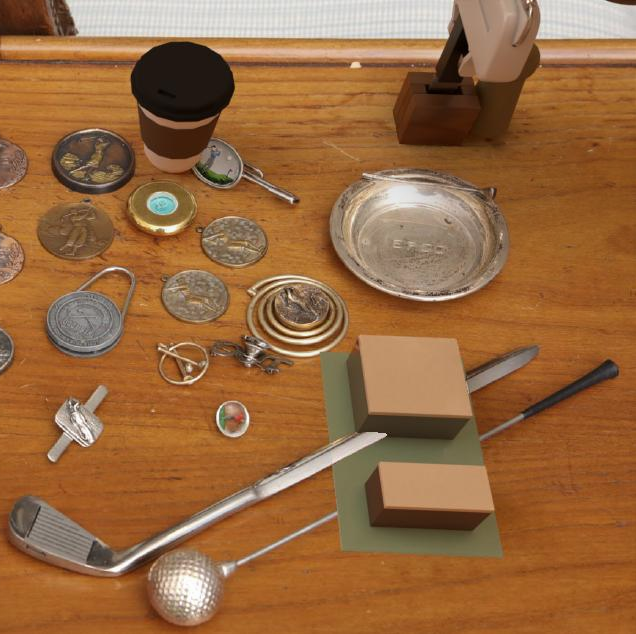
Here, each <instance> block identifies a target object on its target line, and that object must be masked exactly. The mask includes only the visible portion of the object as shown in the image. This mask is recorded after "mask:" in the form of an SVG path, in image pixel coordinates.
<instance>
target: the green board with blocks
mask: <svg viewBox="0 0 636 634" xmlns="http://www.w3.org/2000/svg"><path fill="white" fill-rule="evenodd" d="M319 359H320V368H321V378H322V387H323V388H322V389H323V396H324V406H325V414H326V423H327V424H326V425H327V431H328V441H329V444H330V443H333V442H334V441H336V440H338V439H340V438H343V437H345V436H347V435H350V434H351V433H354V432H357V433H362V432H378V433H386V434H387V436H386V437H385V438H383V439H381V440H380V441H378V442H376V443H374V444H371V445H369V446H367V447H366V448H364V449H362V450H360V451H358V452H356V453H354V454H352V455H350V456H348V457H346V458H344V459H343V460H341V461H339V462H337V463H336V464H333V465H332V464H331V467H332V468H331V469H332V476H333V477H332V479H333V487H334V496H335V505H336V511H337V512H336V513H337V514H336V515H337V523H338V531H339V540H340V548H341V552H349V553H350V552H351V553H352V552H353V553H375V554H395V555H396V554H397V555H398V554H399V555H423V556H447V557H464V558H465V557H467V558H468V557H469V558H493V559H504V558H505V555H504V551H503V546H502V541H501V536H500V532H499V531H500V530H499V527H498V521H497V516H496V512H495V511H494V512H493V513H491V514H490V515H489V516H488V517H487V518H486V519H485V520H484V521H483V522H482V523H481V524H480V525H478V526H477V527H476V528H475V529H474V530H473V531H467V530H443V529H419V528H395V527H371V526H370V522H369V514H368V506H367V499H366V491H365V483H366V481H367V480H368V479H369V477H370V476H371V474H372V473H373V471H374V470H375V469H376V467H377V466H378V464H379V462H399V463H424V464H448V465H473V466H486V464H485V458H484V454H483V450H482V449H483V448H482V444H481V440H480V435H479V430H478V426H477V421H476V415H475V411H474V406H473V401H472V396H471V392H470V393H469V394H468V390H467V386H466V381H465V377H466V376H467V372H466V367H465V362H464V358H463V356H461V352H460V347H459V343H458V339H457V338H455V337H431V336H429V337H428V336H408V335H407V336H405V335H384V334H383V335H378V334H359V335H358V337H357V339H356V341H355V343H354V345H353V347H352V349H351V350H350V352H343V351H342V352H339V351H319Z"/></svg>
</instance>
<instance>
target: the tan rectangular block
mask: <svg viewBox="0 0 636 634" xmlns="http://www.w3.org/2000/svg"><path fill="white" fill-rule="evenodd" d="M365 491H366V499H367V506H368V514H369V522H370V526H371V527H395V528H419V529H443V530H467V531H473V530H474V529H475V528H476V527H477V526H478V525H480V524H481V523H482V522H483V521H484V520H485V519H486V518H487V517H488V516H489V515H490V514H491V513H493V512H494V511H495V510H496V509H495V504H494V499H493V494H492V490H491V485H490V481H489V476H488V471H487V466H486V465H485V466H473V465H448V464H424V463H399V462H379V464H378V466H377V467H376V469H375V470H374V471H373V473H372V474H371V476H370V477H369V479H368V480H367V481H366V483H365Z"/></svg>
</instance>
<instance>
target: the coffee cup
mask: <svg viewBox="0 0 636 634" xmlns="http://www.w3.org/2000/svg"><path fill="white" fill-rule="evenodd" d="M129 80H130V90H131V94H132V96H133V98H134V99H135V100H136V106H137V114H138V122H139V129H140V137H141V138H140V139H141V141H142V142H143V149H144V154H145V156H146V158H147V159H148V160H149V162H150V163H151V165H152V166H153V167H155V168H157V169H158V170H159V171H162V172H166V173H169V174H175V173H177V174H181V173H183V172H184V173H185V172H186V171H187V172H188V171H189V170H191V169H192V168H193V167H194V166H196V165H197V164H198V163H199V162H200V161H201V160H202V158H203V157H202V156H203V154H204V152H205V150H206V149H207V148H208V147H209V144H210V141H211V138H212V137H213V134H214V131H215V129H216V126H217V124H218V122H219V119H220V117H221V114H222V112H223V111H224V110H225V109H226V108H227V107H228V106H229V105H230V103H231V100H232V99H233V96H234V94H235V90H236V84H235V79H234V73H233V71H232V70H231V66H230V65H229V64H228V62H227V61H226V59H224V57H223V55H222V54H221V53H218V52H216V50H213V49H212V48H210V47H208V46H206V45H205V44H204V45H203V44H200V43H196V42H193V41H189V40H188V41H186V40H184V41H168V42H164V43H161V44H158V45H155V46H152V47H151V48H150V49H149V50H147V51H146V52H145V53H143V54H142V55H141V56H140V58H139V59H138V60H137V61H136V62H135V64H134V66H133V69H132V70H131V73H130V78H129ZM196 163H197V164H196Z"/></svg>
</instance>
